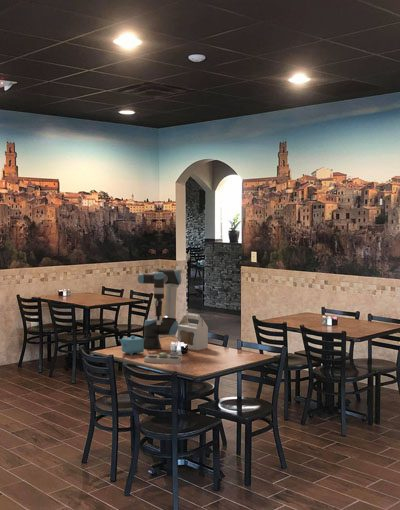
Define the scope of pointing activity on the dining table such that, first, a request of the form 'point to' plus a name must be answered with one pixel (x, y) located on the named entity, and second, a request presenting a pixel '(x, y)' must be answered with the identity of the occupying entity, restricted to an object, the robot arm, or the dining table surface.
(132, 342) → the teapot
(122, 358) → the dining table surface
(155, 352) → the terracotta button
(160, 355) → the sage green button
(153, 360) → the button board
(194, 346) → the gable box
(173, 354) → the slate blue button
